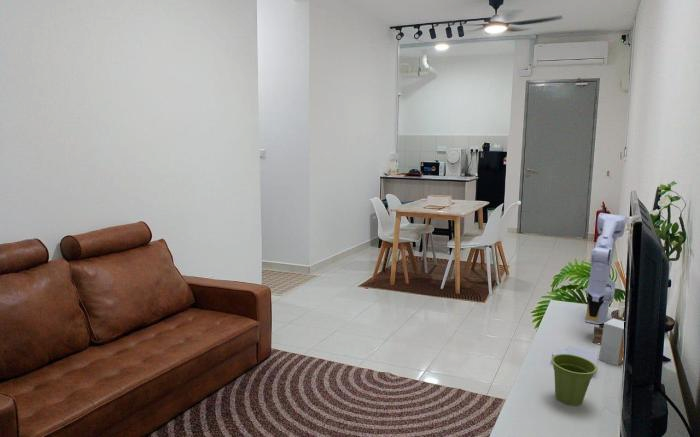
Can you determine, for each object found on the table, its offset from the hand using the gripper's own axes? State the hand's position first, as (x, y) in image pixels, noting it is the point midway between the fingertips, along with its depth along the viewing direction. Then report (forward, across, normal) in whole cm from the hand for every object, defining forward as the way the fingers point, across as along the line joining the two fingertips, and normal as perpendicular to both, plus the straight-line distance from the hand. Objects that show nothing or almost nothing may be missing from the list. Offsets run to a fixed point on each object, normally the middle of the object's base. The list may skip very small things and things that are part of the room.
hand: (593, 314), depth 193 cm
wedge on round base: (+9, +30, -4) cm, 32 cm away
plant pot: (+9, +54, -4) cm, 55 cm away
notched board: (+9, 0, +4) cm, 10 cm away
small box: (+9, +17, +8) cm, 21 cm away
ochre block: (+2, 0, 0) cm, 2 cm away
